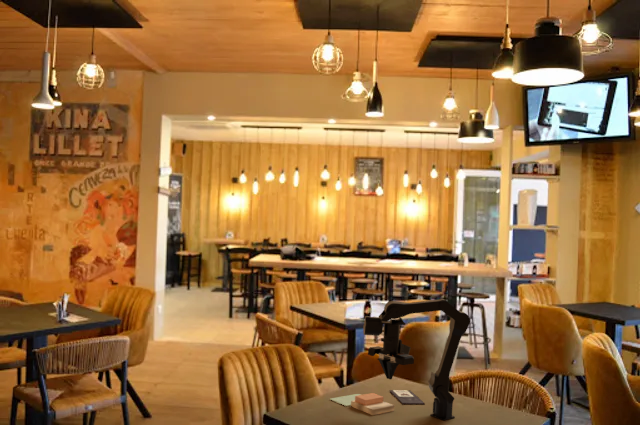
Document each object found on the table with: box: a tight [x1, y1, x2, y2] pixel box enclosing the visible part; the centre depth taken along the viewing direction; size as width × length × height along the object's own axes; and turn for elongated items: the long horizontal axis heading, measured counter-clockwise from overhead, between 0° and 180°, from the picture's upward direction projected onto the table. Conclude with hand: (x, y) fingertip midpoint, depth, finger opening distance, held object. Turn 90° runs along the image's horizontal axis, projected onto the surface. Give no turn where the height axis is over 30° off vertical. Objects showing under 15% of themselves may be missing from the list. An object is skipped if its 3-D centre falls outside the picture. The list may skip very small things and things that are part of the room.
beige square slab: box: [350, 400, 395, 416], centre depth 231 cm, size 12×11×2 cm
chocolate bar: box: [389, 389, 426, 406], centre depth 248 cm, size 9×1×18 cm
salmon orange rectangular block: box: [355, 392, 384, 406], centre depth 233 cm, size 6×9×2 cm, turn 128°
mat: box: [329, 393, 361, 407], centre depth 240 cm, size 10×15×1 cm, turn 128°
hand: (389, 378), depth 225 cm, fingers closed
